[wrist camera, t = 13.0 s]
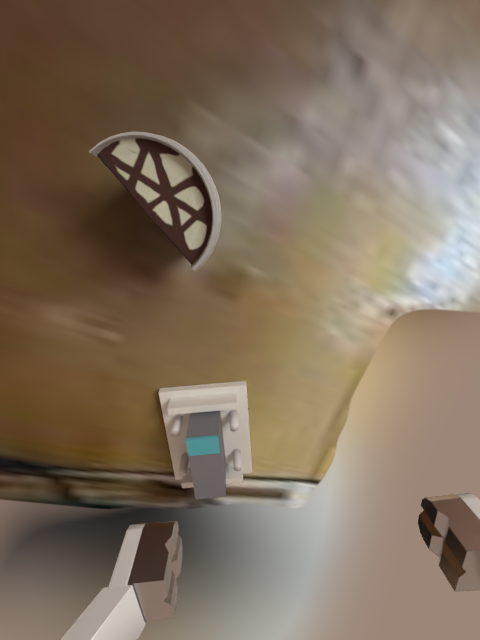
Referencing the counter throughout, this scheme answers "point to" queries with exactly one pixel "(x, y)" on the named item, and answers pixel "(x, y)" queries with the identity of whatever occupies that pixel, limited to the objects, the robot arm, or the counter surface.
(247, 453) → the pin tray
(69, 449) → the counter surface
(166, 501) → the counter surface
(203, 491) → the block
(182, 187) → the food container
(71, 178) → the counter surface
